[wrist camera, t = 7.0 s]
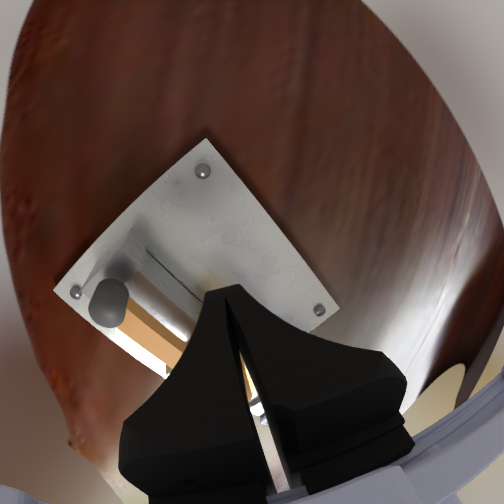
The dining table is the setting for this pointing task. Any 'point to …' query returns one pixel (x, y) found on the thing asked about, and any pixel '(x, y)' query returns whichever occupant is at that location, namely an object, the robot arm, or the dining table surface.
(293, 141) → the dining table surface
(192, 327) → the pipe valve
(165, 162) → the dining table surface
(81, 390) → the dining table surface
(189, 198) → the mounting plate
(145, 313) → the lever
